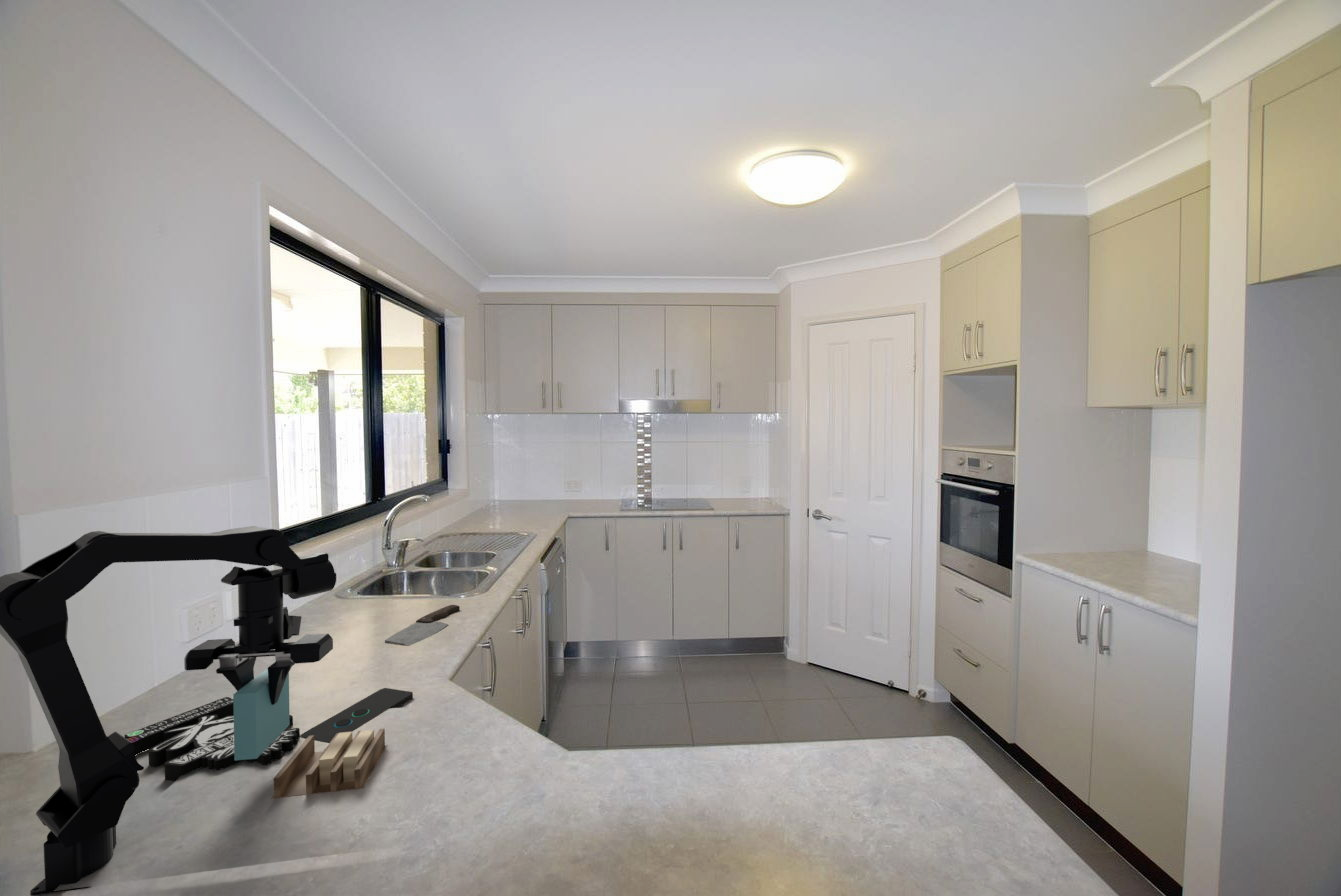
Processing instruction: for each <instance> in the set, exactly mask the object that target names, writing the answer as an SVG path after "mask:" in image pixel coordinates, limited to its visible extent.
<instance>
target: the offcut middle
mask: <svg viewBox="0 0 1341 896" xmlns="http://www.w3.org/2000/svg"><path fill="white" fill-rule="evenodd" d="M352 740H353V731H352V732H342V733H339V734H338V735H337V737H336V738H335V739H334V741H333V742H332V743H331V745H330V746H329V747H328V749H327V750H326V751H325V753H324V754H323V755H322V757H321V758H320V759H319V773H320V785H326V784H331V783H330V772H331V770H332V769H333V767H334V766H335V765H336V763H337V762H338V760H339V759H340V757H341V756H342V754H343V753H344V751H345V750H346V749H347V747H348V746H349V744H350V743H351V741H352Z"/></svg>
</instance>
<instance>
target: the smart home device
mask: <svg viewBox="0 0 1341 896" xmlns="http://www.w3.org/2000/svg"><path fill="white" fill-rule="evenodd" d="M413 697H414V695H413V691H409V690H408V691H407V690H401V689H395V688H388V687H383V688H380V689H378V690H377V691H375V692H373V693H371V694H369V695H368V696H366V697H365V698H363V699H360V700H358V701H357V702H355V703H354V704H352V705H350V706H349V707H347V708H345V709H343V710H342V711H340V712H338V713H336V714H335V715H332V716H331V717H329V718H328V719H326V720H324V721H322V722H320V723H319V724H318V723H317V724H316V725H315V726H313V727H312V728H310V729H307V730H306V731H304V732H302V733H301V734H300V738H303V739H307V738H308V736H311V735H314V741H318V742H323V743H327V744H329V743H330V742H331V741H332V739H333V738H334V737H335V735H336V734H337V733H342V732H352V733H353V731H355V730H357V729H359V728H360V727H362V726H364V724H365V725H366V723H368V722H370V721H371V720H373V719H374V718H376V717H378V716H379V715H381V714H383V713H384V712H386V711H388V710H389V709H399V708H400V707H402V706H403V705H405V704H407V703H408V702H410V701H411V700H413Z"/></svg>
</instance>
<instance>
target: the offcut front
mask: <svg viewBox="0 0 1341 896" xmlns="http://www.w3.org/2000/svg"><path fill="white" fill-rule="evenodd" d="M360 731H361V732H360V733H359V735H358V736H357V738H356V739H355V741H354V742H353V744H352V745H351V746H350V748H349V749H348V751H347V752H346V754H345V755H344V757H343V779H344V782H353V781H355V774H354V769H355V768H356V766H357V765H358V763H359V761H360V760H361V758H362V757H363V755H364V753H365V752H366V750H367V749H368V747H369V745H370V744H371V742H372V740H373V739H374V737H375V729H367V730H366V729H365V730H360Z"/></svg>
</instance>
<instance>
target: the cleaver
mask: <svg viewBox="0 0 1341 896" xmlns="http://www.w3.org/2000/svg"><path fill="white" fill-rule="evenodd" d="M459 611H460V605H457V604H450V605H447V606H444V607H442V608H439V609H436V610H435V611H433V612H430V613H428V614H426V615H424V616H421V617H420V618H418V619H416V621H415V622H414V623H412V624H410V625H409V626H406V627H404V628H403V629H401V630H399V631H397V632H396V633H394V634H393V635H391V636H389V637H388V638H386V639H385V640H384V643H386V644H391V645H392V644H393V645H398V646H399V645H400V646H407V647H410V646H412V645H414V644H417V643H420V642H421V641H424V640H425V639H428V638H430V637H432V636H434V635H436V634H438V633H439V632H440V631H442V630H443V629H444V628H446V627H447V626H448V625H449V624H448V623H445V622H442V621H437V620H440V619H443V618H444V619H445V618H446V617H447V616H449V615H451V614H453V613H456V612H459Z"/></svg>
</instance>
